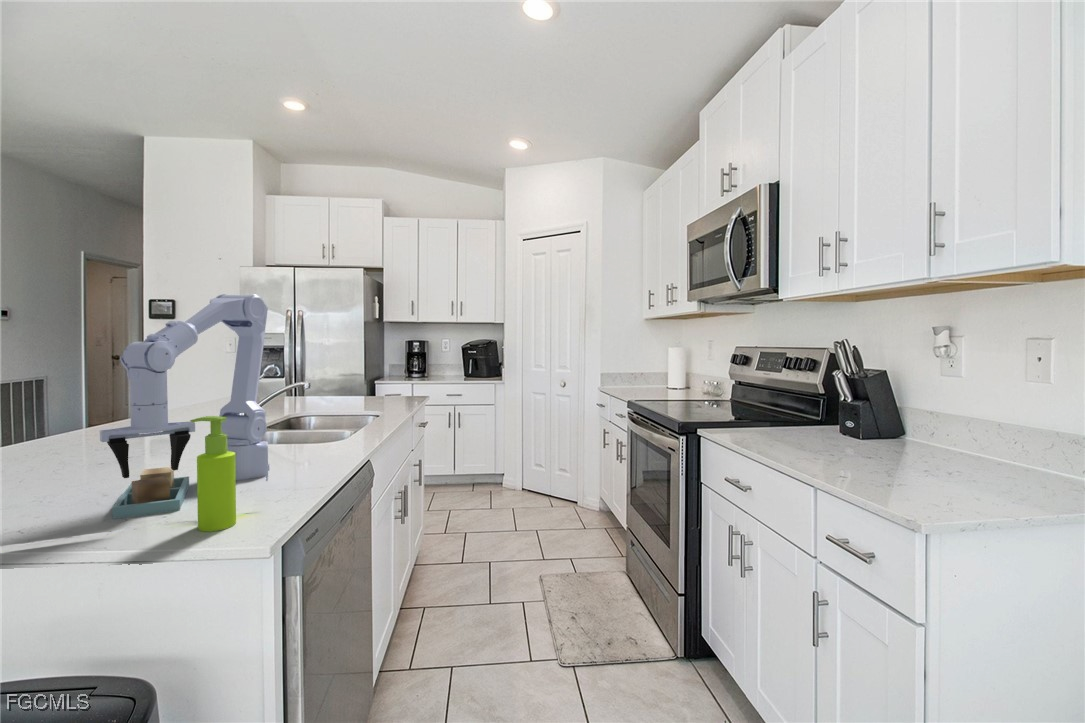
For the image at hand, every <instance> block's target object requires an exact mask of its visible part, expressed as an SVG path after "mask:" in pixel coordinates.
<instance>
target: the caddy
mask: <svg viewBox="0 0 1085 723" xmlns="http://www.w3.org/2000/svg"><path fill="white" fill-rule="evenodd" d="M189 487H190V476H181V477H174V488H170V500H164V501H156V502H147V503H139V504H132V482H131V483H130V484H129V485H128V487H127V488H126V489H125V491H124V492H123V493H122V495H121V496H120V497H119V498H118V500H117V501H116V503H115V504H114V505H113V506H112V508H111V510H112V514H111V515H112V519H113V520H115V519H122V518H130V517H138V516H145V515H155V514H161V513H167V512H168V513H170V512H177V511H180V510H181V508H182V505H183V503H184V500H185V497H186V496H187V492H188V491H189Z"/></svg>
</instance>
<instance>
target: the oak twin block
mask: <svg viewBox="0 0 1085 723" xmlns="http://www.w3.org/2000/svg"><path fill="white" fill-rule="evenodd" d="M139 476H140V477H139V480H143V479H149V478H155V477H162V476H163V477H165V478H166V479H167V480H169V481H170V488H174V478H175V470H172V469H171V466H169V467H158V468H157V467H155V468H145V469H144V470H142V472H141V474H140V475H139Z"/></svg>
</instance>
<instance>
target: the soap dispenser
mask: <svg viewBox="0 0 1085 723" xmlns="http://www.w3.org/2000/svg"><path fill="white" fill-rule="evenodd" d="M226 420H227V417H219V416H218V415H216V416H215V415H208V416H206V415H205V416H202V417H201V416H200V417H197V418H194V419H190V420H189V422H190V421H191V422H195V423H197V422H198V423H199V422H210V423H209V424H210V425H209V428H210V433H208V434H207V435H205V436H204V441H205V442H204V453H201V454H198V455H197V456H196V488H197V490H196V493H197V494H196V495H197V499H196V500H197V501H196V502H197V529H198V531H201V532H217V531H223V530H227V529H229V528H231V527H233V526H235V525H236V523H237V498H236V497H237V492H236V491H237V490H236V489H237V488H236V485H237V484H236V481H237V480H236V468H235V452H231V451H227V435H226V434H224V433H222V422H223V421H226Z"/></svg>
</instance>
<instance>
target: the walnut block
mask: <svg viewBox="0 0 1085 723" xmlns="http://www.w3.org/2000/svg"><path fill="white" fill-rule="evenodd" d="M131 483H132V504H139V503H147V502H156V501H164V500H170V481H169V480H167V479H166V478H165V477H163V476H162V477H155V478H149V479H143V480H140V479H137V480H133V481H131Z"/></svg>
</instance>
